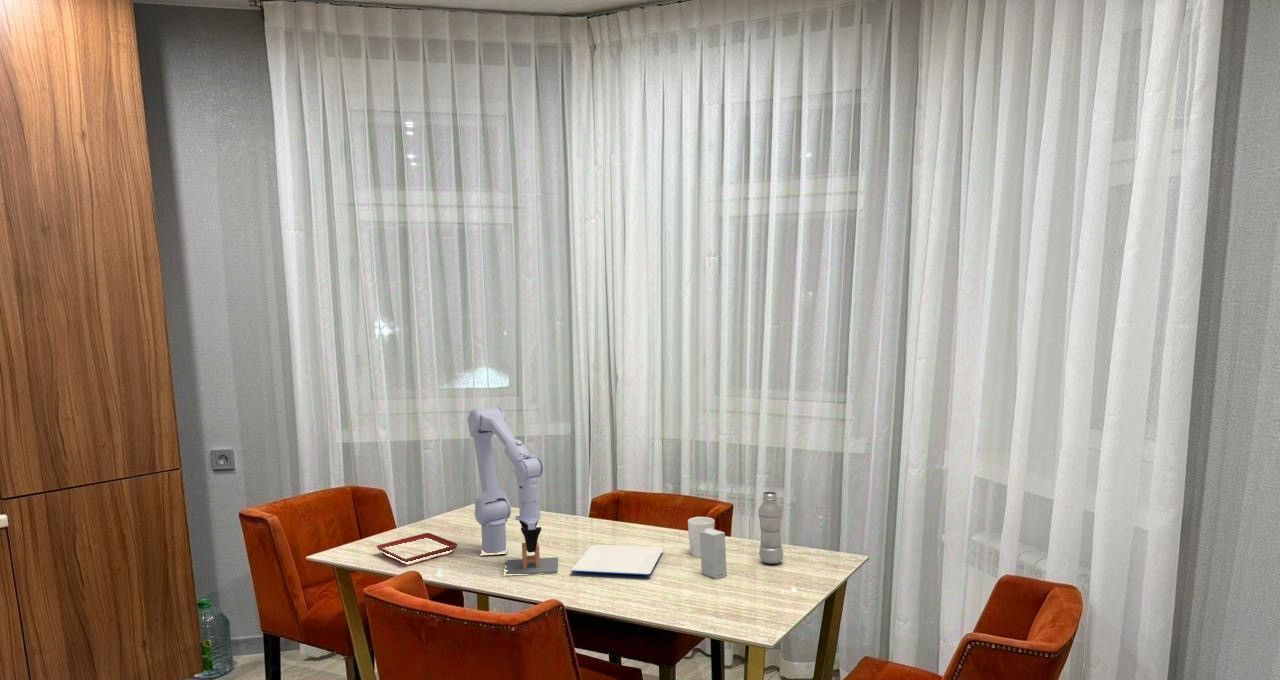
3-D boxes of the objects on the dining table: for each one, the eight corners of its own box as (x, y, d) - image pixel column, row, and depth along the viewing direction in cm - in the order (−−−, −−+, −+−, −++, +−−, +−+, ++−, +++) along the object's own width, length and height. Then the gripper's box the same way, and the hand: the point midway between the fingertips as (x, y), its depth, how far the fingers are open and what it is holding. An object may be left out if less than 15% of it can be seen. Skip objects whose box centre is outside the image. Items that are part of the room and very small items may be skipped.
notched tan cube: (522, 563, 215) (521, 543, 215) (538, 562, 216) (537, 541, 216) (523, 569, 211) (522, 548, 211) (539, 567, 212) (539, 546, 212)
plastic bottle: (783, 567, 209) (781, 496, 208) (758, 566, 211) (757, 495, 210) (783, 559, 216) (782, 490, 215) (759, 558, 217) (758, 490, 216)
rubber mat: (506, 562, 219) (506, 560, 219) (558, 559, 220) (558, 557, 220) (502, 576, 207) (502, 574, 207) (557, 573, 208) (557, 571, 208)
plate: (649, 580, 202) (649, 573, 202) (570, 576, 206) (570, 569, 206) (664, 553, 224) (663, 546, 224) (591, 550, 228) (591, 543, 228)
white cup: (693, 559, 217) (693, 525, 217) (685, 551, 225) (684, 518, 225) (719, 556, 220) (718, 522, 219) (709, 548, 227) (708, 515, 227)
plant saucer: (459, 554, 229) (459, 543, 228) (405, 570, 216) (404, 558, 215) (428, 542, 241) (428, 532, 241) (375, 556, 228) (375, 545, 228)
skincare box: (727, 576, 203) (726, 531, 203) (715, 580, 201) (714, 535, 200) (711, 570, 208) (710, 527, 208) (699, 574, 205) (698, 530, 205)
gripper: (513, 495, 219) (515, 541, 220) (516, 508, 205) (517, 557, 206) (538, 493, 221) (539, 539, 221) (542, 506, 206) (543, 554, 207)
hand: (530, 547), depth 213 cm, fingers open, 7 cm apart
